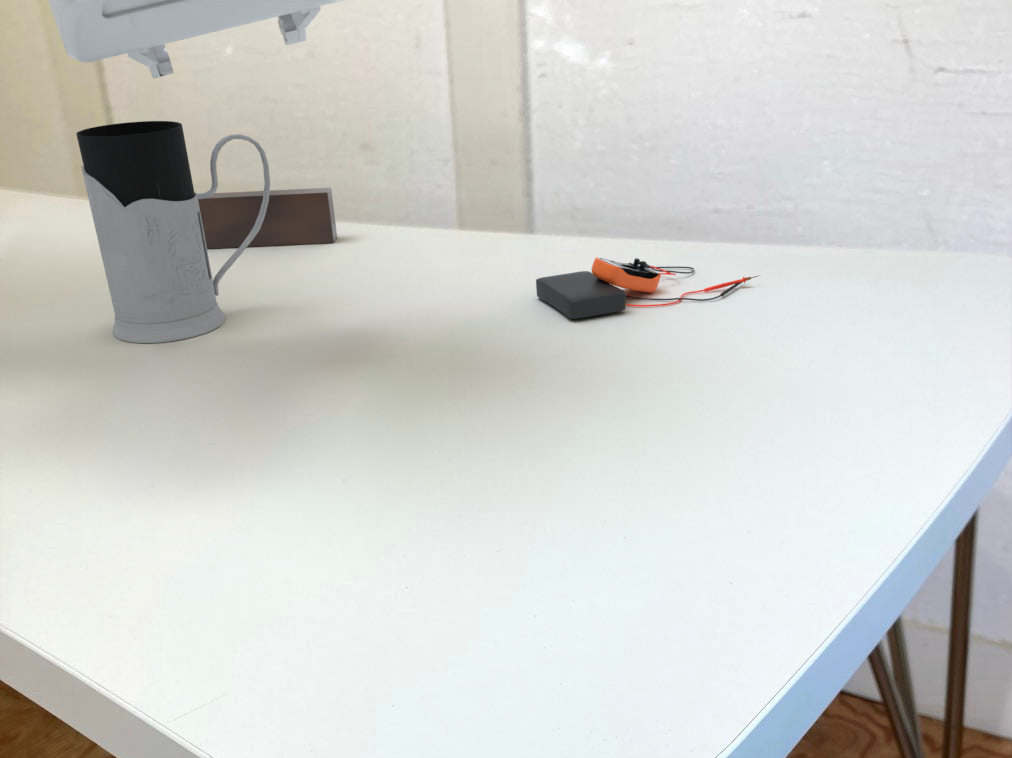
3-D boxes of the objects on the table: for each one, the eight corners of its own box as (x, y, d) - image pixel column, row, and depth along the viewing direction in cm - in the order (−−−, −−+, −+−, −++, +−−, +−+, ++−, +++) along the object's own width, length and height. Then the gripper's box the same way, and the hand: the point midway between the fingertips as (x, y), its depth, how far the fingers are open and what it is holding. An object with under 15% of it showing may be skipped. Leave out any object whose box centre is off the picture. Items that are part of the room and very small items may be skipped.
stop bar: (196, 249, 107) (186, 199, 105) (202, 243, 110) (193, 194, 107) (333, 243, 107) (327, 192, 105) (337, 237, 109) (331, 187, 107)
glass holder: (105, 320, 87) (60, 128, 80) (273, 291, 92) (245, 108, 85) (122, 350, 80) (74, 142, 73) (304, 316, 85) (276, 120, 78)
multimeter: (710, 258, 95) (712, 219, 94) (777, 293, 85) (780, 250, 83) (518, 283, 91) (517, 243, 89) (564, 323, 81) (563, 279, 79)
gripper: (354, -179, 63) (353, -23, 76) (3, -106, 59) (68, 46, 72) (390, -88, 62) (383, 54, 76) (38, -7, 58) (96, 127, 72)
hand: (227, 50), depth 74 cm, fingers open, 8 cm apart
